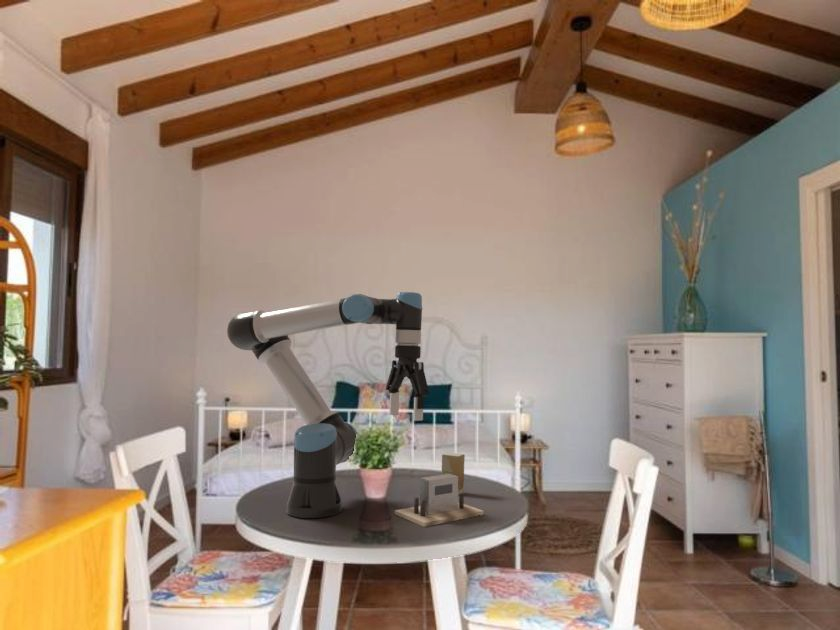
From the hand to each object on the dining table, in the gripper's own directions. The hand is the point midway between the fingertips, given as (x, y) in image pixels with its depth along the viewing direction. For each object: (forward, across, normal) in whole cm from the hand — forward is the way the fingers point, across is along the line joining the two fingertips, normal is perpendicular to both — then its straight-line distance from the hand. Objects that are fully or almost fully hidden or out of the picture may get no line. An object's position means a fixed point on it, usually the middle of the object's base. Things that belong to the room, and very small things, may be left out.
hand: (405, 417), depth 174 cm
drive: (+24, -14, -3) cm, 28 cm away
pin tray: (+25, -14, -4) cm, 28 cm away
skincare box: (+25, +4, -21) cm, 33 cm away
